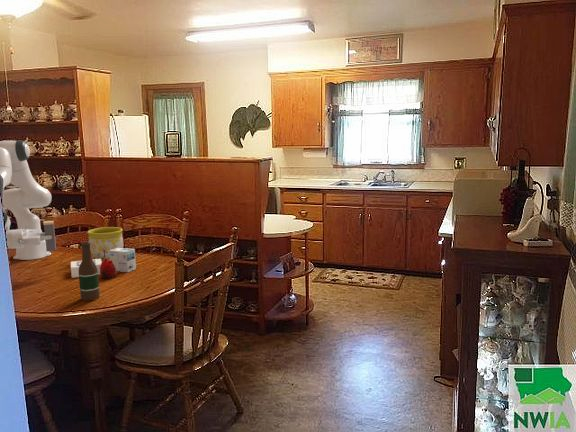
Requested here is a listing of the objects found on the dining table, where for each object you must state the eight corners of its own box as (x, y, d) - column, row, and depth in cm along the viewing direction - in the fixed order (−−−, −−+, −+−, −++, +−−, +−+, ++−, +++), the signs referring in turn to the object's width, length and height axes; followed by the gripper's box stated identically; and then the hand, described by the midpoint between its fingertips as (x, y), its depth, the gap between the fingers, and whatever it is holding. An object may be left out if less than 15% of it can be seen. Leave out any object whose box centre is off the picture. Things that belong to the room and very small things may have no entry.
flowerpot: (90, 265, 249) (87, 234, 246) (89, 257, 265) (86, 228, 262) (126, 261, 256) (124, 231, 253) (123, 253, 272) (121, 225, 269)
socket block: (71, 271, 238) (70, 261, 237) (101, 267, 243) (100, 257, 242) (71, 277, 227) (70, 267, 226) (102, 274, 233) (102, 263, 232)
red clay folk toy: (119, 275, 229) (117, 245, 227) (110, 280, 223) (108, 249, 220) (106, 274, 231) (103, 245, 229) (96, 279, 225) (94, 248, 222)
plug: (46, 249, 229) (43, 221, 226) (56, 248, 231) (53, 220, 228) (46, 251, 225) (43, 222, 223) (56, 250, 227) (53, 222, 224)
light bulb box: (136, 269, 241) (135, 248, 239) (128, 272, 235) (126, 251, 233) (119, 267, 244) (117, 247, 242) (110, 271, 238) (108, 250, 236)
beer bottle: (83, 295, 202) (79, 240, 198) (102, 294, 202) (98, 240, 198) (77, 301, 194) (72, 245, 190) (96, 301, 195) (92, 244, 191)
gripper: (16, 236, 211) (50, 233, 217) (20, 228, 230) (52, 225, 235) (17, 250, 213) (51, 247, 218) (21, 240, 231) (53, 237, 237)
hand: (52, 235), depth 227 cm, fingers closed on plug, 4 cm apart
